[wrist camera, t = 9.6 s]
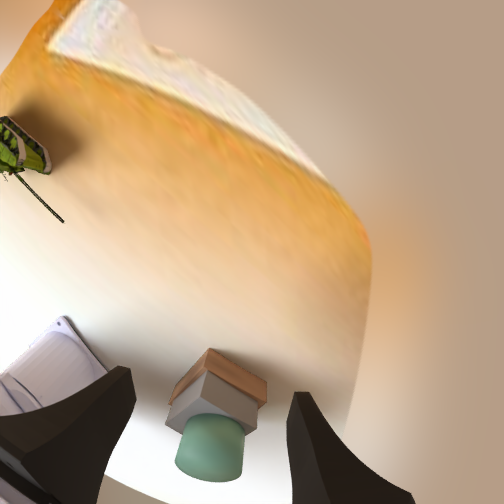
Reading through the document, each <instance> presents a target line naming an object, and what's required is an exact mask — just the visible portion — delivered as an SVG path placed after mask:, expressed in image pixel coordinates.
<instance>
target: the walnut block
mask: <svg viewBox="0 0 504 504" xmlns="http://www.w3.org/2000/svg"><path fill="white" fill-rule="evenodd" d="M207 370H208V371H209V372H211V373H212V374H214V375H215V376H217V377H218V378H220V379H221V380H223V381H225V382H226V383H228V384H229V385H231V386H232V387H234V388H236V389H237V390H239V391H240V392H242V393H244V394H245V395H247V396H249V397H250V398H252V399H254V400H256V401H257V402H258V409H259V408H260V407H262V406H263V405H264V404H265V403H266V402H267V382H265V381H264V380H262V379H260V378H258V377H257V376H255V375H253V374H251V373H250V372H248V371H246V370H245V369H243V368H241V367H239V366H238V365H236V364H235V363H233V362H231V361H230V360H228V359H226V358H225V357H223V356H222V355H220V354H218V353H217V352H215V351H214V350H212V349H211V348H209V349H208V350H207V351H206V352H205V353H204V354H203V355H202V356H201V358H200V359H199V360H198V361H197V362H196V363H195V364H194V366H193V367H192V368H191V369H190V370H189V371H188V372H187V373H186V375H185V376H184V377H183V378H182V379H181V380H180V381H179V382H178V383H177V385H176V386H175V388H174V391H173V393H172V396H171V398H170V401H169V403H168V404H169V405H171V406H172V404H173V401H174V399H176V398H177V397H178V396H179V395H180V394H181V393H182V392H184V391H185V390H186V389H187V388H188V387H189V386H190V385H191V384H193V383H194V382H195V381H196V380H197V379H198V378H199V377H200V376H201V375H203V374H204V373H205V372H206V371H207Z"/></svg>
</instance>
